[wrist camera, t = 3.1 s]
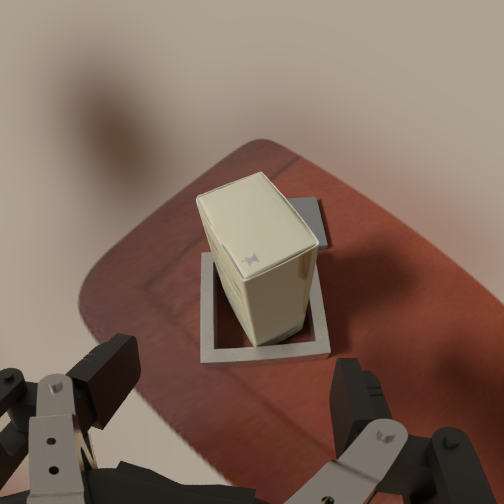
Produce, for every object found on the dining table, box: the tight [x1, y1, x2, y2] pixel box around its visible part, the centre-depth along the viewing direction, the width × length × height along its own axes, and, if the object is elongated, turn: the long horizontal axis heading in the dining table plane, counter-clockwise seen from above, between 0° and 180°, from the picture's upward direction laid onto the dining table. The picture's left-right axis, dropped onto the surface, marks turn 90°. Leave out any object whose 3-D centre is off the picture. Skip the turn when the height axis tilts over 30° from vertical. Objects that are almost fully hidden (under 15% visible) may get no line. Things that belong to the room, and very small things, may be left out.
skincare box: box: [196, 172, 319, 347], centre depth 21 cm, size 6×4×12 cm
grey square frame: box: [200, 252, 331, 369], centre depth 25 cm, size 10×10×2 cm
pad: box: [287, 197, 328, 249], centre depth 30 cm, size 6×6×1 cm
